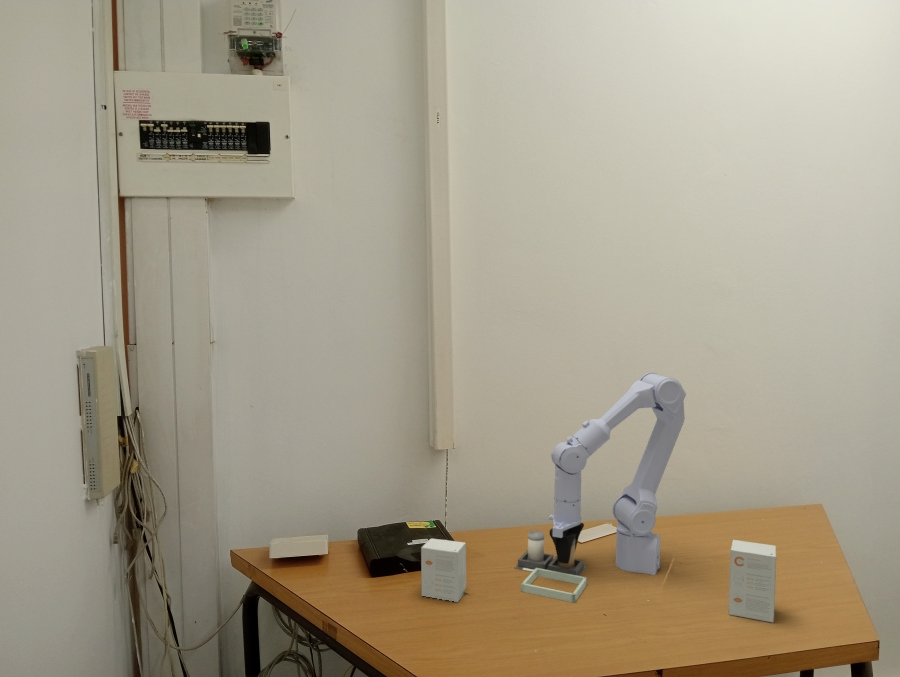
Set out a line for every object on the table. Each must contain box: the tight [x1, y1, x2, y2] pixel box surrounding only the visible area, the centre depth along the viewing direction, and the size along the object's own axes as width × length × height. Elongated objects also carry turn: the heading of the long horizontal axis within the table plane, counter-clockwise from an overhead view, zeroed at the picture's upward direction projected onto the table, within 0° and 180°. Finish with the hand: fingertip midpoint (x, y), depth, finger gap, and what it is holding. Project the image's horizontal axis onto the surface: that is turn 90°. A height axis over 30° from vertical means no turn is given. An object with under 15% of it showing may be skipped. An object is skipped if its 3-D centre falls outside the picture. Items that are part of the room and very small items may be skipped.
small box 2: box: [728, 539, 777, 624], centre depth 137 cm, size 8×6×13 cm
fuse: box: [527, 530, 546, 563], centre depth 157 cm, size 4×4×7 cm
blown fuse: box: [558, 539, 576, 569], centre depth 154 cm, size 4×4×7 cm
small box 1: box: [420, 537, 467, 603], centre depth 144 cm, size 8×6×10 cm
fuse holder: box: [513, 549, 588, 576], centre depth 156 cm, size 14×9×2 cm, turn 64°
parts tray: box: [520, 568, 588, 603], centre depth 145 cm, size 11×9×2 cm
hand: (566, 559), depth 154 cm, fingers closed on blown fuse, 4 cm apart
